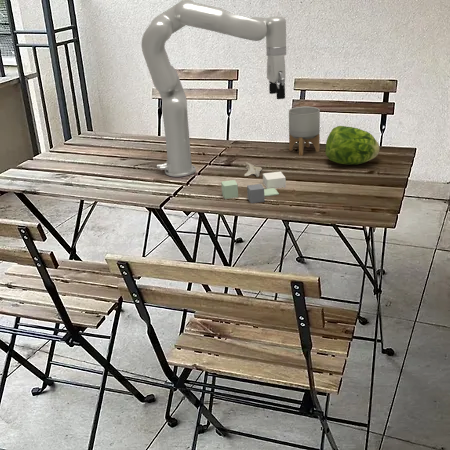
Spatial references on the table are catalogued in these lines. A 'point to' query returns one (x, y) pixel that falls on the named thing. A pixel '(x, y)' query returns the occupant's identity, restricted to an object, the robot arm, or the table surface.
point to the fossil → (252, 170)
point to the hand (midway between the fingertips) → (277, 96)
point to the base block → (274, 180)
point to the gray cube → (255, 193)
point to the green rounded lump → (351, 146)
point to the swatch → (270, 192)
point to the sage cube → (229, 189)
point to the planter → (304, 127)
